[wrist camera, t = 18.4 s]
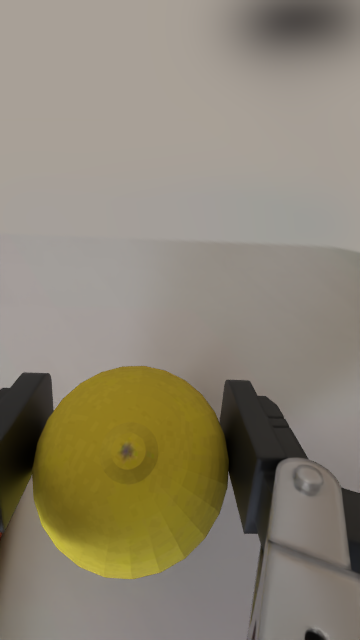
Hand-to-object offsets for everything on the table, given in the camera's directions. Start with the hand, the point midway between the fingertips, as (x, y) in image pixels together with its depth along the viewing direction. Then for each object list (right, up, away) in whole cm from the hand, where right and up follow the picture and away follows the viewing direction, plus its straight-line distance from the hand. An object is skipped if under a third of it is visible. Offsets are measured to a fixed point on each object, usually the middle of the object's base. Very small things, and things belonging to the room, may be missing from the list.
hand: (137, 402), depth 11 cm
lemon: (0, -4, +3) cm, 5 cm away
